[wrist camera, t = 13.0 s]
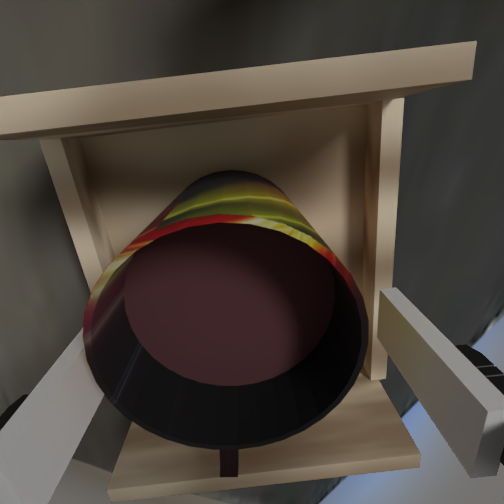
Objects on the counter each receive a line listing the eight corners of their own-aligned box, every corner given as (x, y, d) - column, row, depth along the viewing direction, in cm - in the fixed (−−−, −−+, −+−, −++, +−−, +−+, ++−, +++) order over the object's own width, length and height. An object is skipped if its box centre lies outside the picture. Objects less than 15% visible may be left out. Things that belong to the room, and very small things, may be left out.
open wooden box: (61, 120, 19) (-80, 106, 11) (381, 82, 19) (493, 38, 11) (144, 390, 27) (101, 503, 19) (369, 364, 27) (429, 466, 19)
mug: (228, 355, 25) (221, 532, 14) (138, 207, 20) (15, 295, 9) (337, 311, 24) (424, 464, 13) (268, 144, 19) (311, 155, 8)
